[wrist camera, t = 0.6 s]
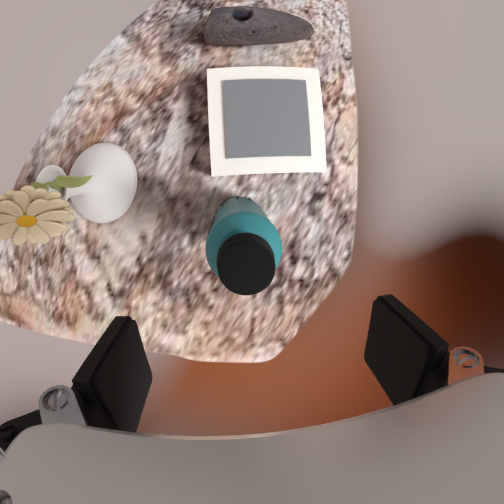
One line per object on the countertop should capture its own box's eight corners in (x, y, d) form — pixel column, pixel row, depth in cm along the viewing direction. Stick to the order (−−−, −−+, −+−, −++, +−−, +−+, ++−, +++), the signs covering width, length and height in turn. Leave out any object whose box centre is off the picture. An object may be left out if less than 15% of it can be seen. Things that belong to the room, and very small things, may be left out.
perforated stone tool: (307, 28, 29) (320, 6, 22) (309, 55, 31) (324, 35, 24) (205, 25, 28) (201, 1, 22) (204, 53, 30) (199, 30, 23)
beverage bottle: (255, 188, 36) (283, 205, 17) (268, 235, 38) (305, 299, 18) (208, 202, 36) (182, 235, 17) (223, 248, 38) (215, 324, 18)
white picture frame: (209, 79, 31) (206, 67, 27) (310, 78, 32) (319, 68, 27) (213, 176, 35) (211, 176, 31) (316, 172, 36) (327, 172, 31)
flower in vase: (75, 219, 35) (-50, 276, 11) (77, 145, 32) (-55, 139, 8) (150, 223, 36) (41, 302, 12) (155, 141, 33) (38, 100, 9)
